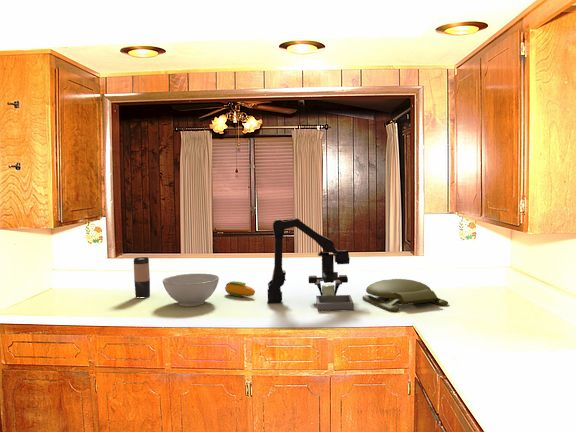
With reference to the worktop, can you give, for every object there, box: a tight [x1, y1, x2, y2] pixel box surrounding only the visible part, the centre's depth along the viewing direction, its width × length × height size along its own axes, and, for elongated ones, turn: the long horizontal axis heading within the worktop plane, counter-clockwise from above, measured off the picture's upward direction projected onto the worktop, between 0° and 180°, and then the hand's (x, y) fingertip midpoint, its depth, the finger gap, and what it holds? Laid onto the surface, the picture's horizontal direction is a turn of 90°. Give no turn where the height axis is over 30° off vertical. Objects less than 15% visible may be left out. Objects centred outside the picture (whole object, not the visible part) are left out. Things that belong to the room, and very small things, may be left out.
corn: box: [224, 280, 256, 298], centre depth 292 cm, size 7×8×20 cm
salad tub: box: [321, 283, 335, 296], centre depth 279 cm, size 6×6×7 cm
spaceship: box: [361, 278, 449, 313], centre depth 273 cm, size 35×31×10 cm
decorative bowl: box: [162, 273, 220, 307], centre depth 279 cm, size 27×27×12 cm
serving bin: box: [315, 294, 355, 312], centre depth 265 cm, size 16×16×4 cm
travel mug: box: [133, 256, 151, 298], centre depth 295 cm, size 8×8×20 cm
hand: (328, 296), depth 279 cm, fingers closed on salad tub, 6 cm apart
